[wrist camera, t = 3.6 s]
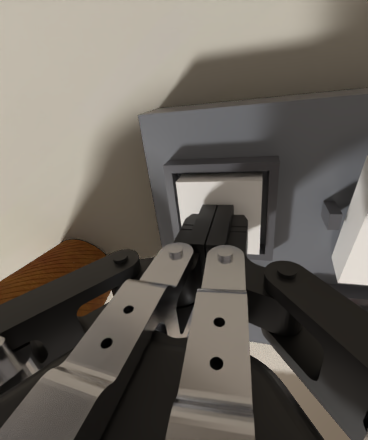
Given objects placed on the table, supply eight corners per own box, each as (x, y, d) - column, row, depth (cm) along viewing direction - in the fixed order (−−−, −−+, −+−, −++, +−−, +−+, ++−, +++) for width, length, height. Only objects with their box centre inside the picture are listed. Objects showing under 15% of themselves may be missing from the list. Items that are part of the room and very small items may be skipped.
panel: (158, 108, 15) (125, 119, 11) (480, 76, 11) (594, 77, 7) (186, 301, 23) (171, 346, 19) (382, 325, 18) (413, 387, 15)
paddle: (182, 174, 13) (175, 182, 12) (262, 172, 12) (262, 181, 11) (189, 238, 15) (184, 249, 14) (259, 241, 14) (259, 254, 13)
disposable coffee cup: (60, 202, 21) (-129, 324, 11) (151, 272, 22) (60, 440, 12) (29, 262, 26) (-119, 384, 16) (105, 316, 27) (13, 460, 17)
